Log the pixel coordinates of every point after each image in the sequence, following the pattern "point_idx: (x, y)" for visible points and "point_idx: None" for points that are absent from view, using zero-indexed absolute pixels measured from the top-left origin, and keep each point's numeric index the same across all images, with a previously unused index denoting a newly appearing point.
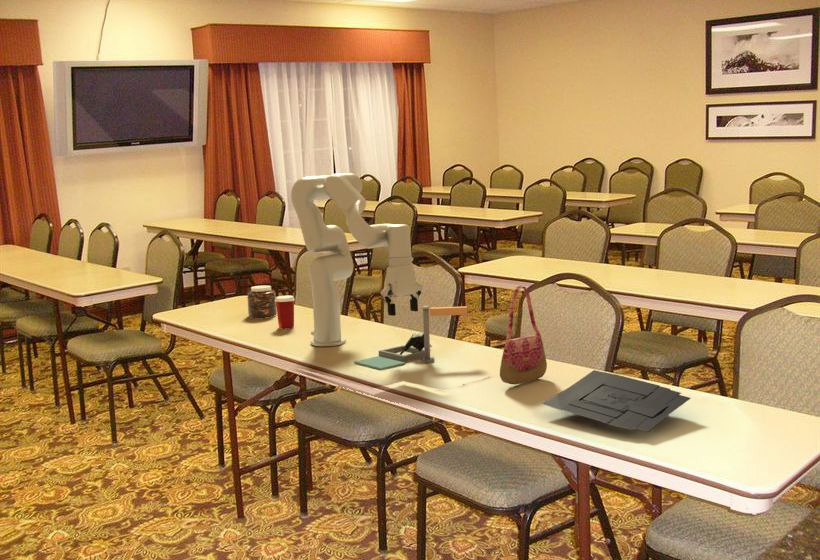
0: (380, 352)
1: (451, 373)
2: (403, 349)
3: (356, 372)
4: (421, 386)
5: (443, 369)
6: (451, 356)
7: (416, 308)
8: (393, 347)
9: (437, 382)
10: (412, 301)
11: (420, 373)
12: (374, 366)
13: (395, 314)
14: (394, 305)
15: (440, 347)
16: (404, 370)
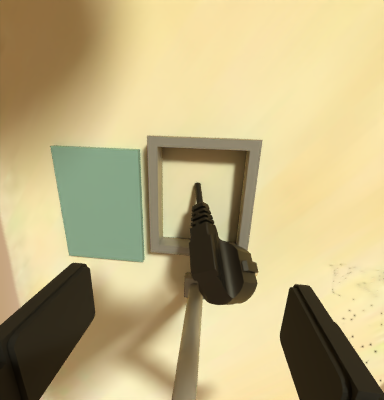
0: (149, 145)
1: (158, 367)
2: (193, 210)
3: (19, 224)
4: (67, 373)
5: (170, 342)
6: (277, 292)
7: (289, 358)
8: (213, 138)
9: (101, 378)
10: (322, 395)
11: (117, 328)
12: (65, 232)
13: (87, 322)
14: (33, 394)
15: (366, 198)
16: (109, 291)
